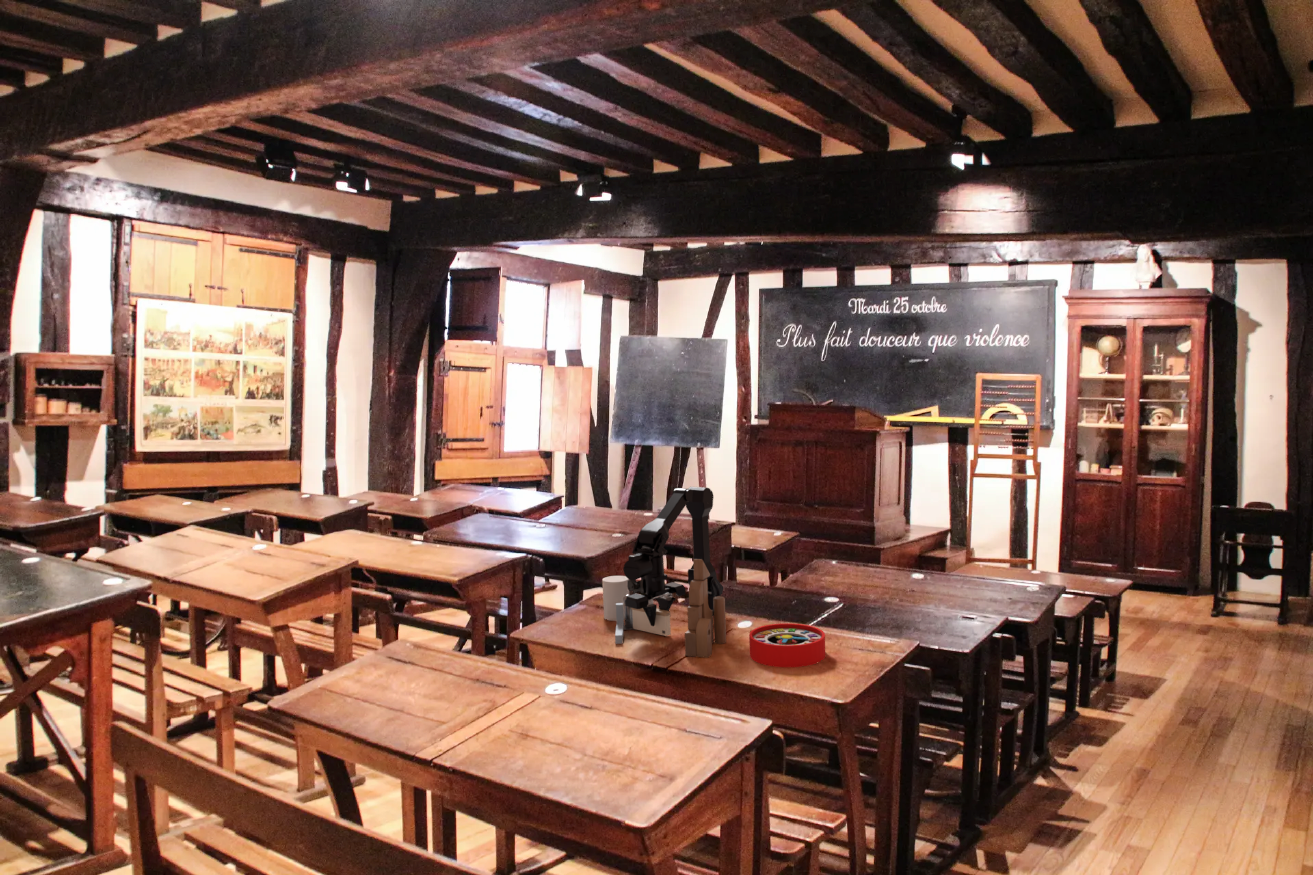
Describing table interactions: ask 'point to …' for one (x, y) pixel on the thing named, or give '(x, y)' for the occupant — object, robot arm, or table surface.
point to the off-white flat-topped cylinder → (613, 595)
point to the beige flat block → (643, 623)
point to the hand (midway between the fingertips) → (657, 624)
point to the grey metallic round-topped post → (628, 616)
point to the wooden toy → (703, 616)
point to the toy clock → (787, 645)
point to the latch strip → (619, 624)
